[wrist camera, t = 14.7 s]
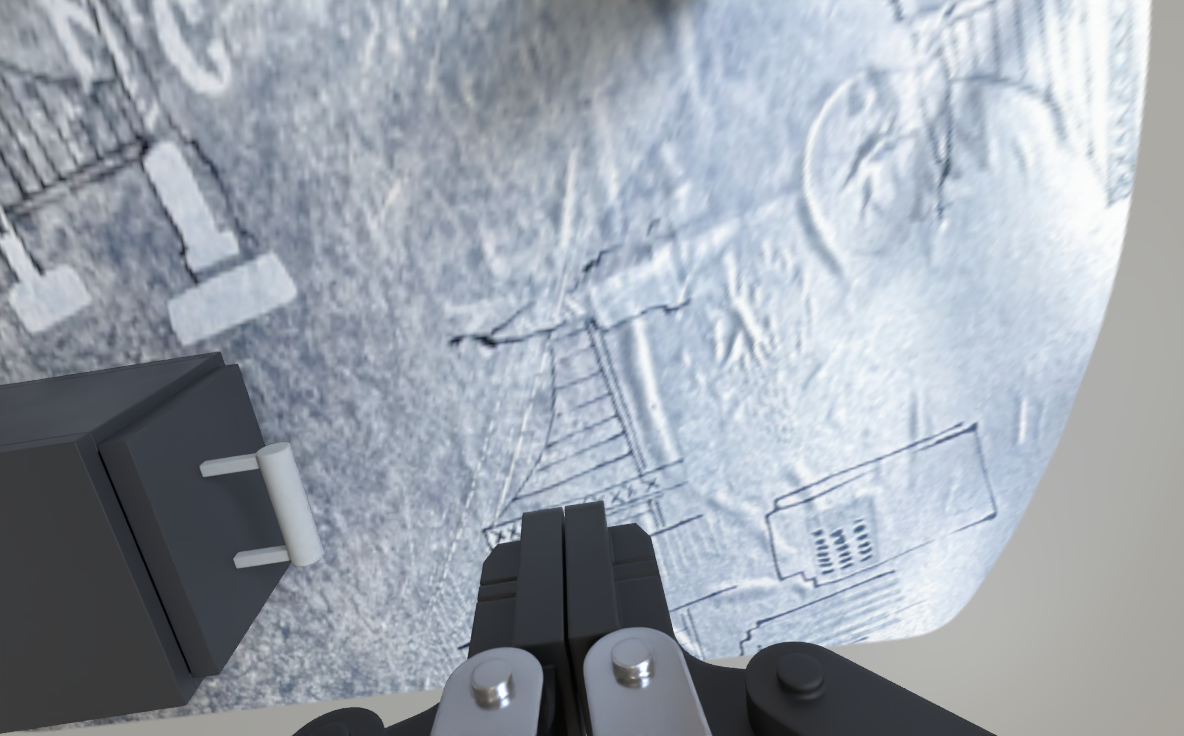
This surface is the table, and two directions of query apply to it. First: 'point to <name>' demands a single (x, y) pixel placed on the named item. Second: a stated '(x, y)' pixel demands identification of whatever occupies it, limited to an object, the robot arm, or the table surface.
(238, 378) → the dark grey drawer
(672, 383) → the table surface
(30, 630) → the grey drawer cabinet
